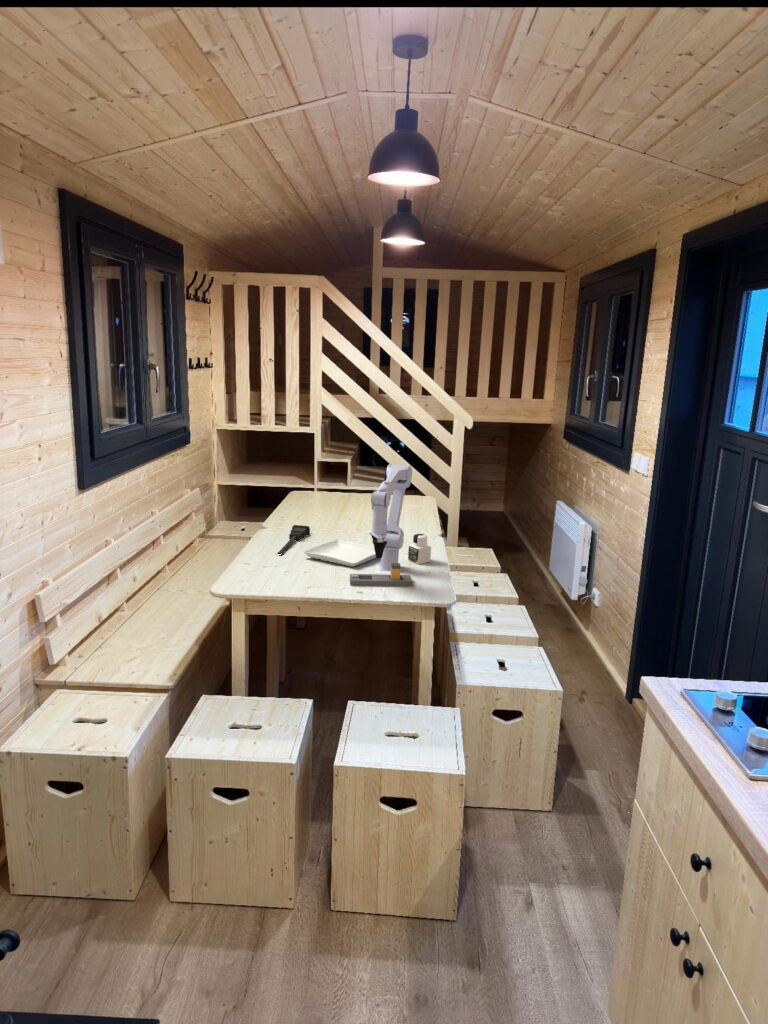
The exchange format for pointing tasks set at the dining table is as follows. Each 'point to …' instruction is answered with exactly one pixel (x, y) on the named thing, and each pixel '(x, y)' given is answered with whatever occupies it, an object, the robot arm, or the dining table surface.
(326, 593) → the dining table surface
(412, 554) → the medicine bottle
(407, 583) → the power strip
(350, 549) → the square plate
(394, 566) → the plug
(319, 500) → the dining table surface
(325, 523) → the dining table surface
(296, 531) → the electrical plug
